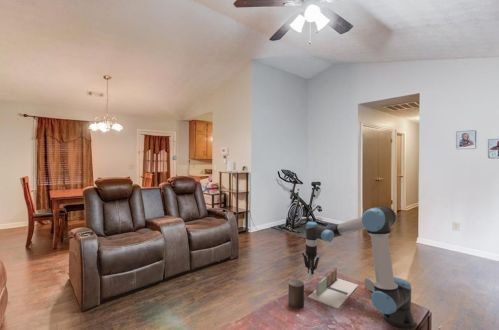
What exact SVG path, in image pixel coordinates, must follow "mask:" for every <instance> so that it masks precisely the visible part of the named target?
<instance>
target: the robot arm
mask: <svg viewBox="0 0 499 330" xmlns="http://www.w3.org/2000/svg"><path fill="white" fill-rule="evenodd" d="M396 221H397V213H396V212H395V211H394V209H393V208H391V207H389V206H387V205H381V206H377V207H371V208H369V209H367V210H365V211H364V212H363V214H362V216H359V217H356V218H354V219H351V220H348V221H345V222H341V223H339V224H335V225H332V226H329V227H324V228H322V227H321V226H318V223H317V222H314V221H308V222H307V223H306V225H305V251H304V252H302V257H303V261H304V267H305V268H306V269H307V273H308V280H312V279H313V277H314V274H315V271H316V270H317V268H318V266H319V265H318V264H319V262H320V260H321V256H319V254H318V252H317V251H318V240H321V241H323V242H327V243H330V242H332V241H333V240H334V238H337V237H341V236H344V235H348V234H352V233H355V232H359V231H363V230H366V232H367V235H369V236H370V240H371V249H372V256H373V257H372V259H373V266H374V273H375V280H374V281H375V282H374V292H372V293H371V298H370V299H371V303H372V305H373V306H374V307H375V308H376V309H377V311H379V312H381V313H382V314H383V317H382V318H383V319H384V320H385V322H387V323H388V324H389V325H391V326H392V327H396V328H399V329H405V330H407V329H408V330H410V329H412V328H414V327H415V318H414V315H413V312H412V284H411V282H410V281H408V280H406V279H403V278H401V277H396V276H394V271H393V263H392V255H391V246H390V239H389V236H390V235H391V234H392V230H391V226H393V225H395V223H396Z"/></svg>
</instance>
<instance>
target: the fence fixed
mask: <svg viewBox="0 0 499 330" xmlns="http://www.w3.org/2000/svg"><path fill="white" fill-rule="evenodd" d="M337 270H338V269H337V267H334V268H333V270H332V271H330V272H329V273H328V274H325V275H324V277H327V287H326V288H328V286H329V285H330V284H332V283H333V282H334V281H335V280H337V277H338V276H337V275H338V273H337V272H338V271H337Z"/></svg>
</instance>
